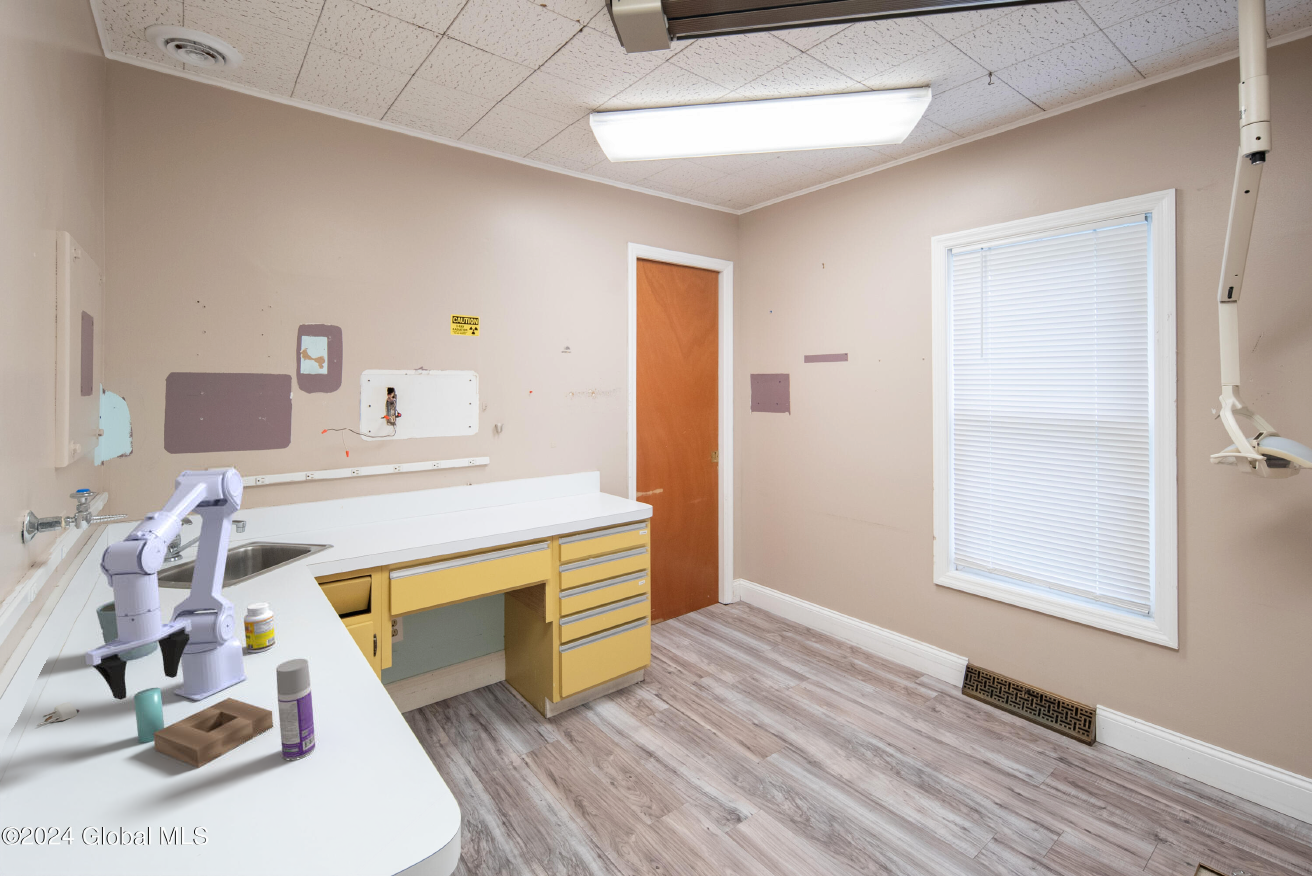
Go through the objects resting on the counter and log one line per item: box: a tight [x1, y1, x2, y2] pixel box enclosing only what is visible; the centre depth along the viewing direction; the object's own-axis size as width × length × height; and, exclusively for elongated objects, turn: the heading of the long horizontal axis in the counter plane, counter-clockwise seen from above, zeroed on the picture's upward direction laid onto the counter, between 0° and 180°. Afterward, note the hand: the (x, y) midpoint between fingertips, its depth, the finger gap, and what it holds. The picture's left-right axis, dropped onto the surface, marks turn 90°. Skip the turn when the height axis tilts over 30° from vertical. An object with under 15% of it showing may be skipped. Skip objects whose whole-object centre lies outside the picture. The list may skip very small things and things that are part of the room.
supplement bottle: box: [243, 602, 276, 654], centre depth 137 cm, size 6×6×10 cm
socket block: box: [153, 697, 274, 768], centre depth 103 cm, size 12×12×3 cm
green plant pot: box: [96, 600, 159, 662], centre depth 136 cm, size 10×10×12 cm
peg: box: [133, 687, 165, 744], centre depth 103 cm, size 4×4×8 cm
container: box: [275, 658, 316, 761], centre depth 98 cm, size 5×5×15 cm
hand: (146, 686), depth 103 cm, fingers open, 7 cm apart
